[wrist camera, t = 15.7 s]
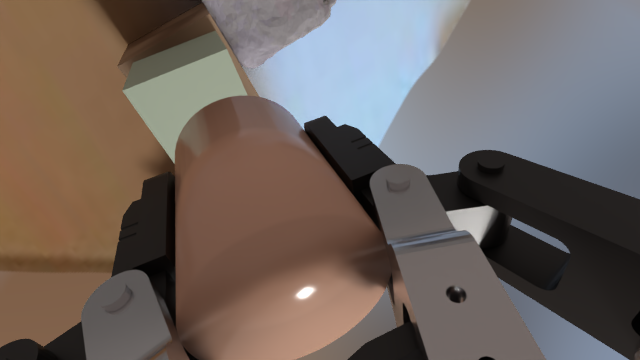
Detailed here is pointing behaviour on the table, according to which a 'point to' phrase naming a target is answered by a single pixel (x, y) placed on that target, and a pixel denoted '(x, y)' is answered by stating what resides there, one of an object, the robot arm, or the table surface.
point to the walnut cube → (179, 41)
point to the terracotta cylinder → (266, 238)
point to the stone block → (265, 24)
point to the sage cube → (181, 85)
